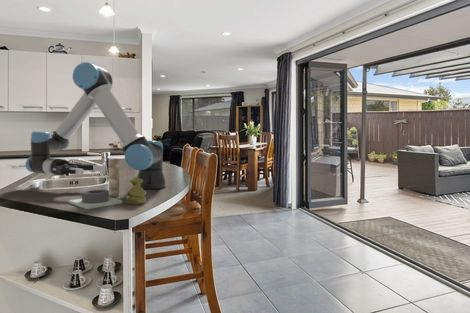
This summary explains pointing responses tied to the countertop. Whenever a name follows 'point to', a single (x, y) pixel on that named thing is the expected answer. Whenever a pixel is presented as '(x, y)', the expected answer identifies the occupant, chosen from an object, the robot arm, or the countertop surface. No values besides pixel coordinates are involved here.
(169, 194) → the countertop surface
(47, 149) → the robot arm
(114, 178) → the peg
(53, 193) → the countertop surface
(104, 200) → the socket
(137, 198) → the olive twisted vase
